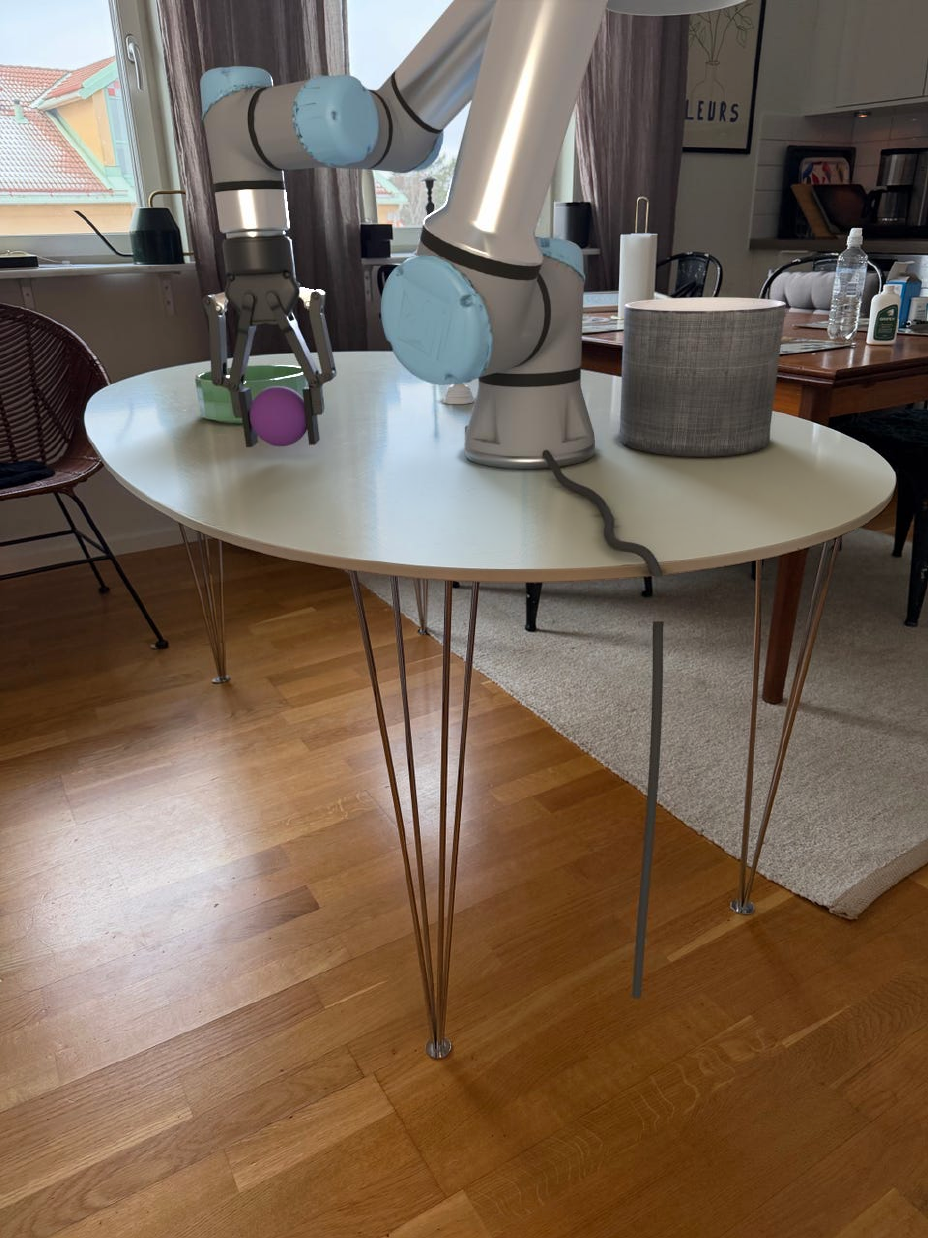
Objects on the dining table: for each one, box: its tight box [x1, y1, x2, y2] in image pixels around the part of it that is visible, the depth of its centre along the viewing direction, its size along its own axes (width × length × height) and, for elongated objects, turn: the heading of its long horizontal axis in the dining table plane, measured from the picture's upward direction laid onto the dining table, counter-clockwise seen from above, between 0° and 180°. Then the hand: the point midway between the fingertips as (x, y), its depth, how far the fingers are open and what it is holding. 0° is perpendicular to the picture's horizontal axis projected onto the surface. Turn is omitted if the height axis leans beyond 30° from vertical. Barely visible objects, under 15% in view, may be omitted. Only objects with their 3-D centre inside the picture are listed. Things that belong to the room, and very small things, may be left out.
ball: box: [250, 386, 307, 447], centre depth 102 cm, size 7×7×7 cm
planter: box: [618, 296, 787, 458], centre depth 101 cm, size 18×18×16 cm
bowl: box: [194, 364, 309, 424], centre depth 127 cm, size 16×16×6 cm
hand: (283, 442), depth 103 cm, fingers closed on ball, 7 cm apart
